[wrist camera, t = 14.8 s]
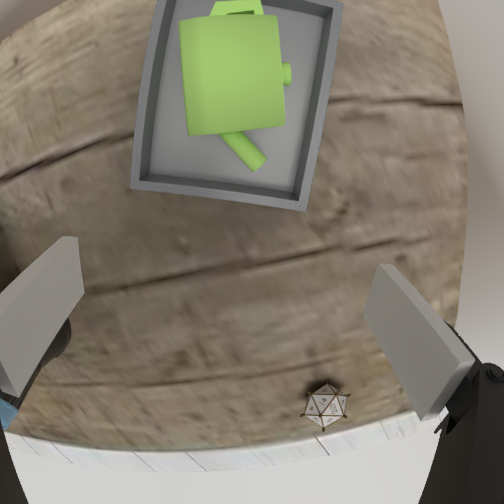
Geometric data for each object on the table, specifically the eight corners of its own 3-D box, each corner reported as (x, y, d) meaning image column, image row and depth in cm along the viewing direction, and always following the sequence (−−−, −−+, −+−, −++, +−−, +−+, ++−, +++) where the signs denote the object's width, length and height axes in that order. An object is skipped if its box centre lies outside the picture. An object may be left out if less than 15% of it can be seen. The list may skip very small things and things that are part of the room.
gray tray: (142, 179, 36) (129, 188, 31) (172, -7, 26) (163, -22, 22) (297, 199, 38) (305, 211, 33) (330, 15, 28) (343, 3, 24)
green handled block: (286, 161, 35) (307, 178, 27) (200, 168, 35) (193, 188, 26) (275, 14, 28) (293, -15, 19) (187, 20, 27) (176, -8, 18)
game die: (308, 373, 55) (293, 392, 46) (353, 373, 52) (346, 393, 43) (309, 414, 55) (294, 438, 45) (352, 415, 51) (345, 441, 42)
